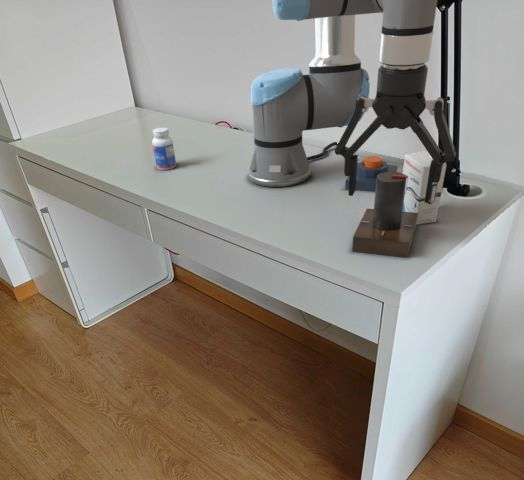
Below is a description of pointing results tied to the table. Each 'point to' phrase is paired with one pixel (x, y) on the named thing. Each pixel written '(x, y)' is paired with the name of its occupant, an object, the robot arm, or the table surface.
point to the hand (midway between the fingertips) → (388, 196)
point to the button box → (369, 176)
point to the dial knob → (389, 200)
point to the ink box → (421, 187)
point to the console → (384, 236)
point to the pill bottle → (163, 149)
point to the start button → (373, 162)
